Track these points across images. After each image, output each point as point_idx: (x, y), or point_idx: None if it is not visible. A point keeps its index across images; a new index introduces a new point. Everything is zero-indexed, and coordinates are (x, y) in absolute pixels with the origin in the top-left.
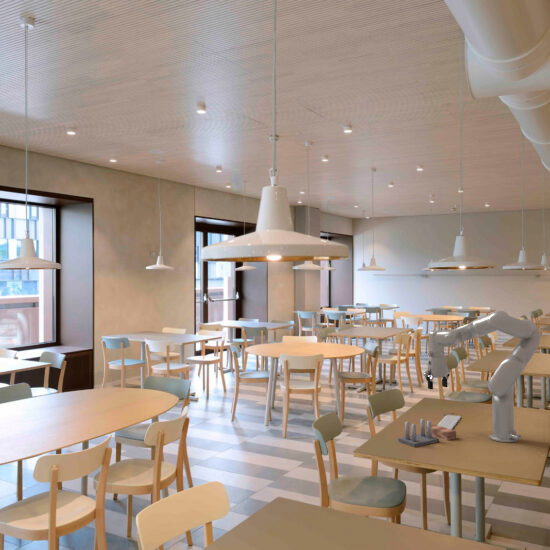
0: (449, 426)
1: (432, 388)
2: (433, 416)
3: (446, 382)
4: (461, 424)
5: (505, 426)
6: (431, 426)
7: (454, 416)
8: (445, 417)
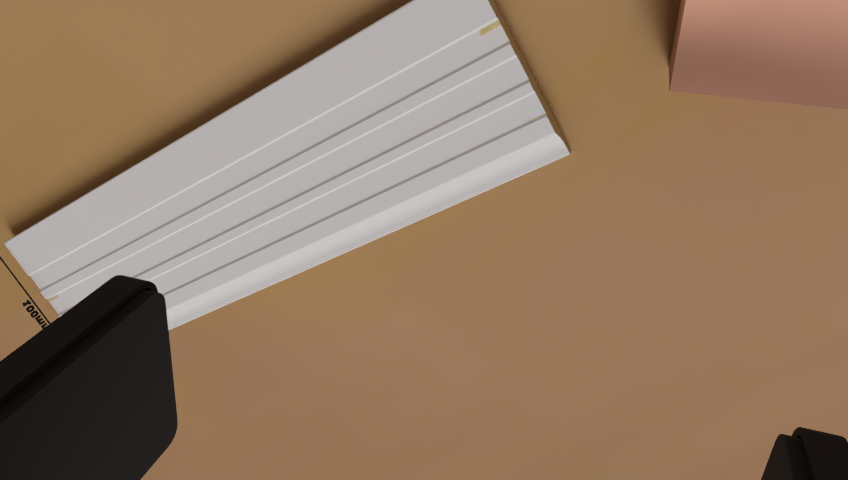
0: (380, 67)
1: (833, 448)
2: (201, 422)
3: (38, 371)
4: (167, 77)
5: None
6: (805, 55)
7: (62, 278)
8: None
